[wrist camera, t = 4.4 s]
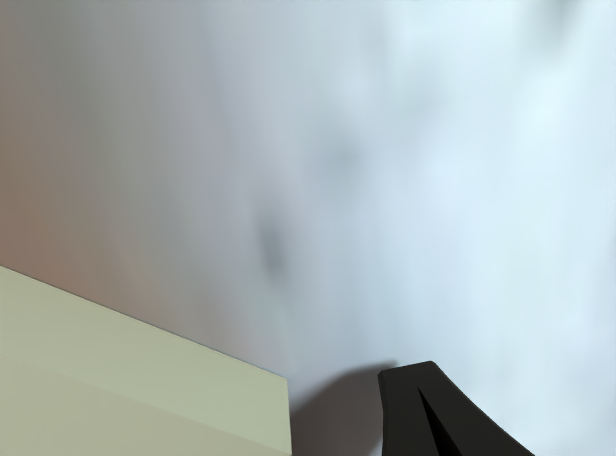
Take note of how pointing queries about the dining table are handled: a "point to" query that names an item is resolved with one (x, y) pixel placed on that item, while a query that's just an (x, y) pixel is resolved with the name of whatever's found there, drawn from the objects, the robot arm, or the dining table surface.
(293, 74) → the dining table surface
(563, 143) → the dining table surface
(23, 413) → the cream toy brick
